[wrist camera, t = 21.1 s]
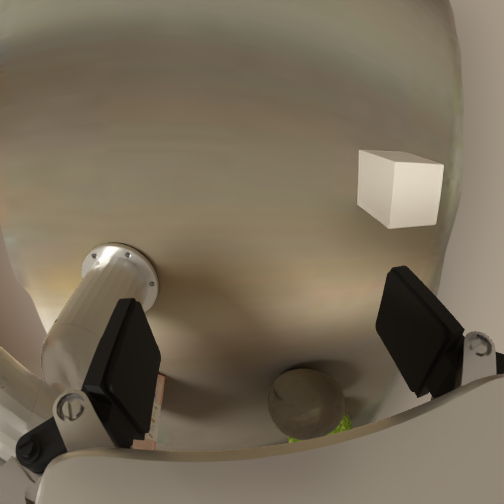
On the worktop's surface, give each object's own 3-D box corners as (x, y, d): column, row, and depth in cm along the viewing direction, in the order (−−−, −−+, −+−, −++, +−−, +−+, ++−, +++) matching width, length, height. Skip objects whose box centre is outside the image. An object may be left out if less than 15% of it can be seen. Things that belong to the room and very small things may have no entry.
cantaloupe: (276, 398, 56) (287, 456, 43) (254, 366, 50) (263, 434, 36) (336, 378, 55) (356, 433, 42) (325, 341, 48) (350, 406, 35)
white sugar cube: (400, 202, 37) (435, 224, 29) (357, 204, 36) (388, 228, 29) (404, 151, 33) (443, 164, 25) (358, 149, 33) (394, 161, 25)
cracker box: (139, 364, 47) (120, 459, 29) (167, 375, 49) (156, 470, 31) (121, 393, 52) (106, 472, 33) (145, 402, 54) (135, 481, 35)
